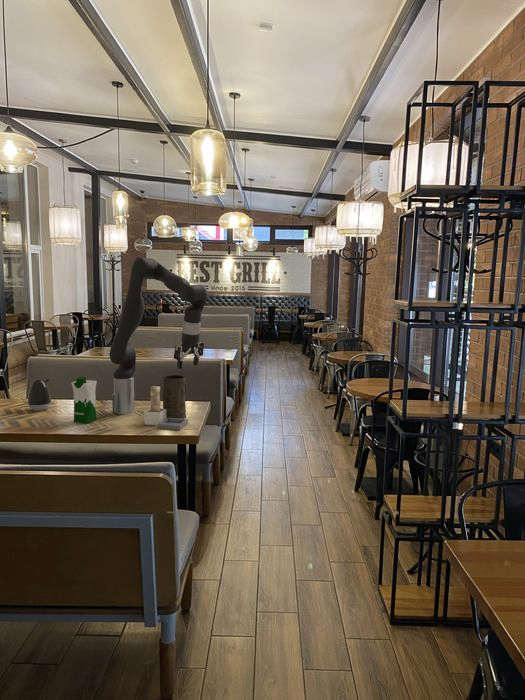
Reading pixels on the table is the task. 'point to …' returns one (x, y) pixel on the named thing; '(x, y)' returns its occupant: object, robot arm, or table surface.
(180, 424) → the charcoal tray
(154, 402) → the birch pin
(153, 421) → the light grey square box
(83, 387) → the milk carton
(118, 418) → the table surface
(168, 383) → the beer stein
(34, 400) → the dark grey rounded piece
